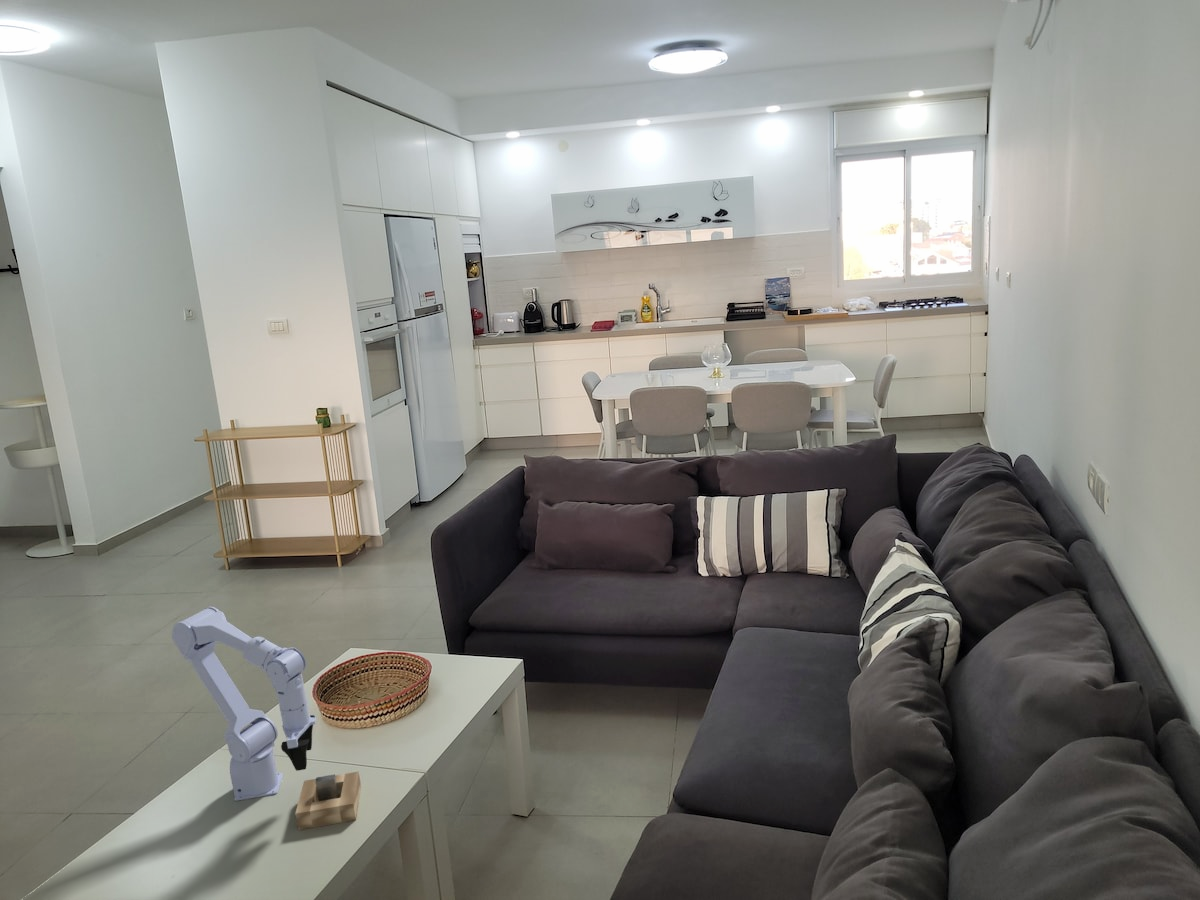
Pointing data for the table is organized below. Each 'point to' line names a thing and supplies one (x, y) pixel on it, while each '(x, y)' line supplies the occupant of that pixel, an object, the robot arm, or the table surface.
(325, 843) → the table surface
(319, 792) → the grey block
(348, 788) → the well block
